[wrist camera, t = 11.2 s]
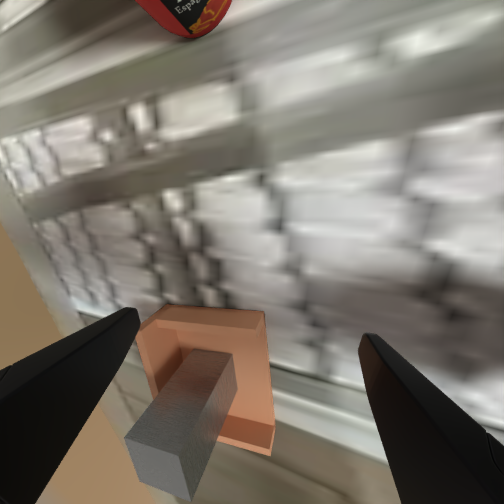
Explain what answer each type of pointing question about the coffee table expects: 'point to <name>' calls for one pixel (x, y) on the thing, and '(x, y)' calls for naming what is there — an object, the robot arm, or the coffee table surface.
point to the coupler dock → (220, 340)
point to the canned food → (187, 15)
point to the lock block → (183, 423)
